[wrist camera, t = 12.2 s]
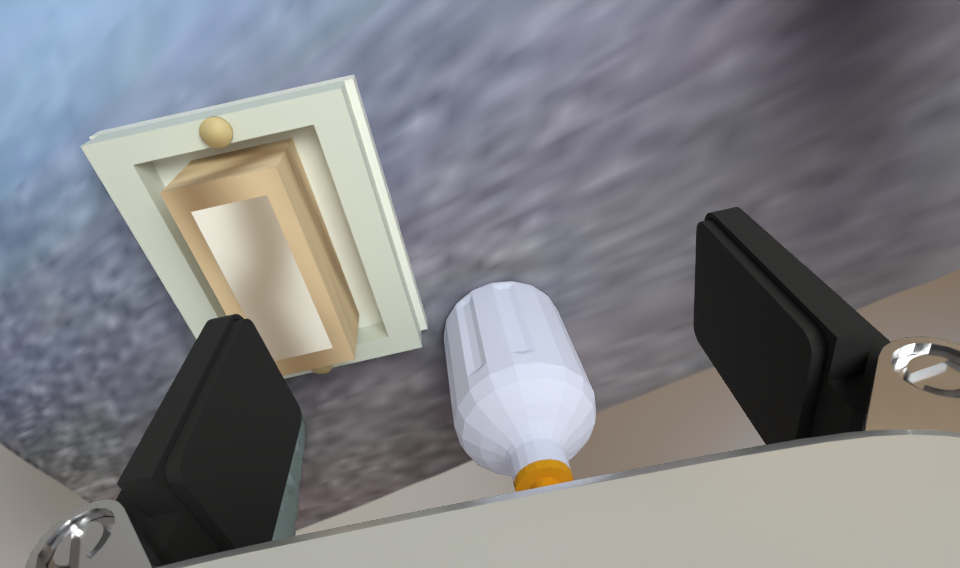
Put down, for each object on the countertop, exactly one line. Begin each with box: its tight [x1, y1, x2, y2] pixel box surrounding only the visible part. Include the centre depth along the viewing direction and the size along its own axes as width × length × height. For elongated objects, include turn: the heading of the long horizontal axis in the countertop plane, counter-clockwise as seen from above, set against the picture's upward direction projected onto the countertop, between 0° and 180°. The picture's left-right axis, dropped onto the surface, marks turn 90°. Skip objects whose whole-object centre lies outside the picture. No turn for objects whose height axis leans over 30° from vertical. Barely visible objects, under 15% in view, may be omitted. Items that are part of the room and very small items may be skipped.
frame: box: [160, 138, 359, 376], centre depth 33 cm, size 6×13×5 cm, turn 11°
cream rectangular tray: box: [81, 75, 428, 379], centre depth 35 cm, size 15×18×4 cm
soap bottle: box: [444, 281, 596, 492], centre depth 32 cm, size 9×9×25 cm
